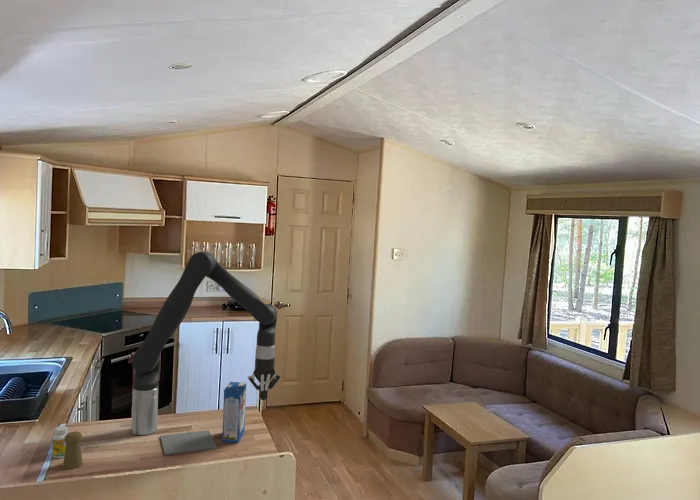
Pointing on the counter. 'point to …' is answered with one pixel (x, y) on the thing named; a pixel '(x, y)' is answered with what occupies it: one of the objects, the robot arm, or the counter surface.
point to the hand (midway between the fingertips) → (262, 399)
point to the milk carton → (234, 412)
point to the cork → (73, 451)
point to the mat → (187, 442)
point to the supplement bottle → (59, 442)
